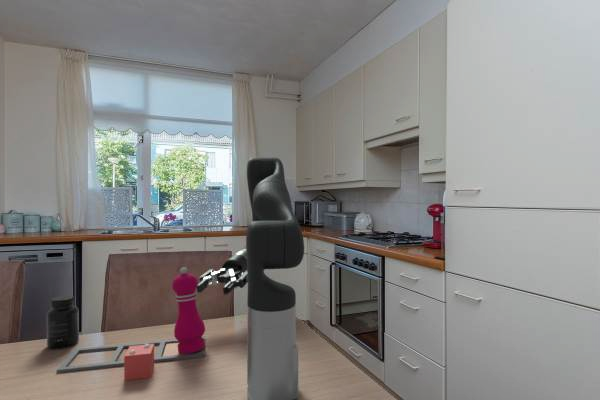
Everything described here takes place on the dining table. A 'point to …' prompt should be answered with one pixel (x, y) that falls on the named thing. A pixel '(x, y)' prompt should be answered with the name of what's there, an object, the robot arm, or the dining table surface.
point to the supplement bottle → (62, 323)
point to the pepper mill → (188, 314)
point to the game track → (168, 355)
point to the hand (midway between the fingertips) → (211, 290)
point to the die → (139, 362)
